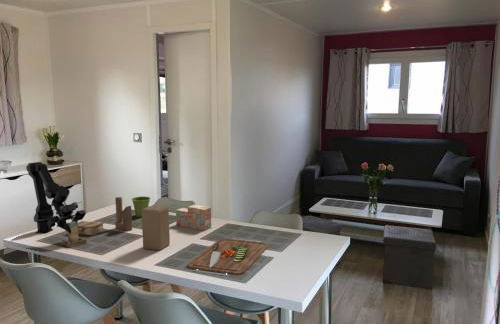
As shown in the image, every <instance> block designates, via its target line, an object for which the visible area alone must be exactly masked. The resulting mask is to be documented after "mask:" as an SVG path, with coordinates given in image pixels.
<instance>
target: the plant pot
mask: <svg viewBox="0 0 500 324" xmlns="http://www.w3.org/2000/svg"><path fill="white" fill-rule="evenodd" d="M150 200H151V196H145V195H144V196H136V197H135V196H134V197H132V198H131V201H132V203H133V209H134V213H135V217H137V218H142V209H145V208H147V207H149V205H150Z"/></svg>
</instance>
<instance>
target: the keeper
mask: <svg viewBox="0 0 500 324" xmlns="http://www.w3.org/2000/svg"><path fill="white" fill-rule="evenodd" d="M78 238H79V241H76V242H73V243H70V242H68V240H64V239H63V240H61V245H63V246H64V247H68V248H70V249H71V248H74V247H78V246H82V245H84V244H87V238H83V237H80V236H78Z"/></svg>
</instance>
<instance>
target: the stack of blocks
mask: <svg viewBox="0 0 500 324" xmlns="http://www.w3.org/2000/svg"><path fill="white" fill-rule="evenodd" d="M175 219H176V220H175V221H176V222H175V223H176V224H175V225H176V226H180V227H185V228H190V229H195V230H199V231H204V232H205V231H207V230H209V229H211V228H212V207H211V206H210V207H209V206H205V205H197V204H191V205H189V206H187V208H186V207H181V208H178V209H175Z"/></svg>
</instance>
